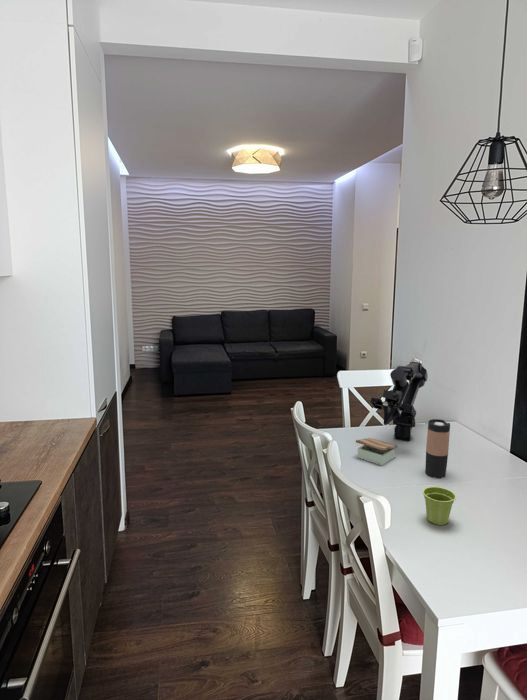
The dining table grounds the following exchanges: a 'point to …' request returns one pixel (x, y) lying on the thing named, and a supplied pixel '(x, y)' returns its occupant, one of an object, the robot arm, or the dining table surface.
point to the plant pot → (438, 504)
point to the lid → (376, 444)
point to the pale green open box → (376, 454)
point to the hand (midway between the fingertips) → (384, 424)
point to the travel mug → (437, 448)
